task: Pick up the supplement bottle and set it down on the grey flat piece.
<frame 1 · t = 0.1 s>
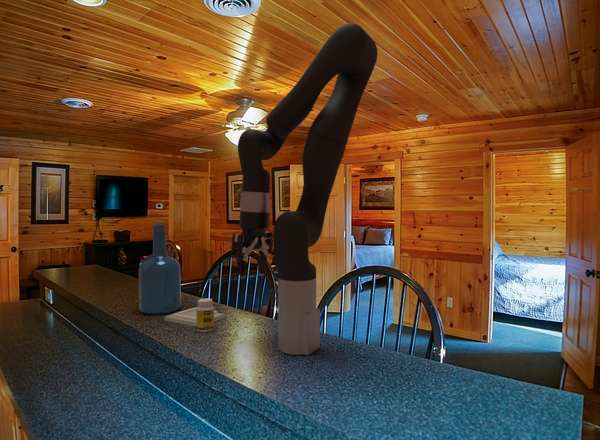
hand: (251, 272, 100), 17 cm above the counter, tool pointing down, fingers open, 8 cm apart
supplement bottle: (205, 330, 109), on the counter
wine bottle: (160, 310, 129), on the counter
grey flat piece: (195, 319, 119), on the counter
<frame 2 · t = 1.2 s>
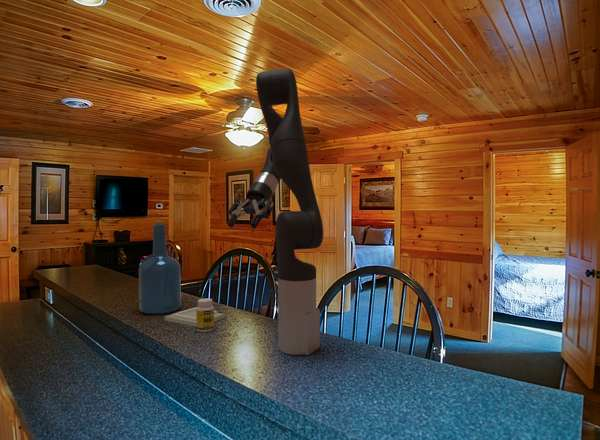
hand: (240, 226, 116), 29 cm above the counter, tool tilted 45°, fingers open, 8 cm apart
nothing on the counter moved.
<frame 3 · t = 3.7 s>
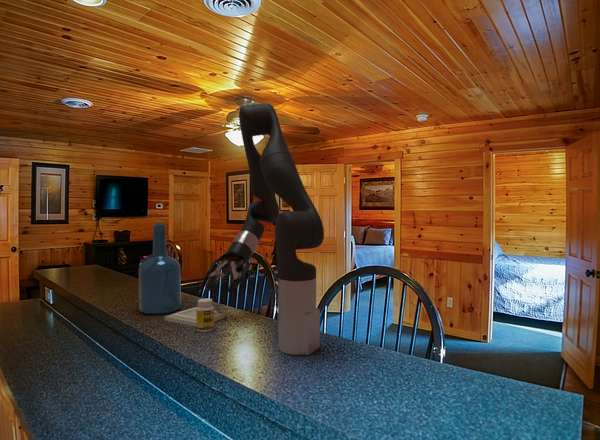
hand: (218, 290, 113), 10 cm above the counter, tool tilted 45°, fingers open, 8 cm apart
nothing on the counter moved.
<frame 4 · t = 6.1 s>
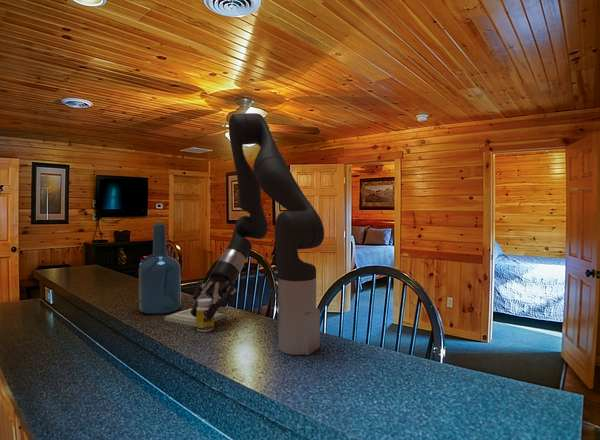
hand: (200, 316, 107), 4 cm above the counter, tool tilted 45°, fingers closed on supplement bottle, 4 cm apart
supplement bottle: (205, 330, 109), on the counter, touching gripper
everything else where it was.
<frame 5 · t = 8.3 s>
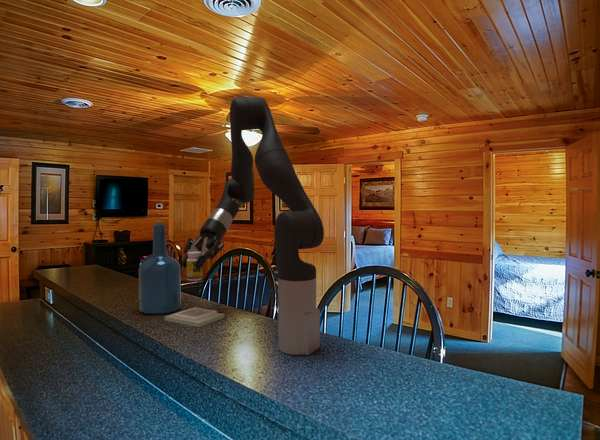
hand: (190, 267, 117), 16 cm above the counter, tool tilted 45°, fingers closed on supplement bottle, 4 cm apart
supplement bottle: (194, 280, 118), point 12 cm above the counter, touching gripper
everything else where it was.
when the fingers open (7 cm above the counter, at t = 10.5 s): supplement bottle drops 2 cm, resting on grey flat piece.
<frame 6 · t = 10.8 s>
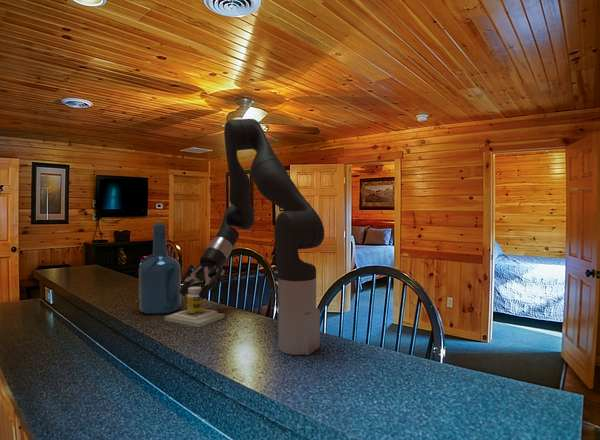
hand: (191, 295, 117), 8 cm above the counter, tool tilted 45°, fingers open, 7 cm apart
supplement bottle: (195, 315, 119), point 1 cm above the counter, touching grey flat piece
everything else where it was.
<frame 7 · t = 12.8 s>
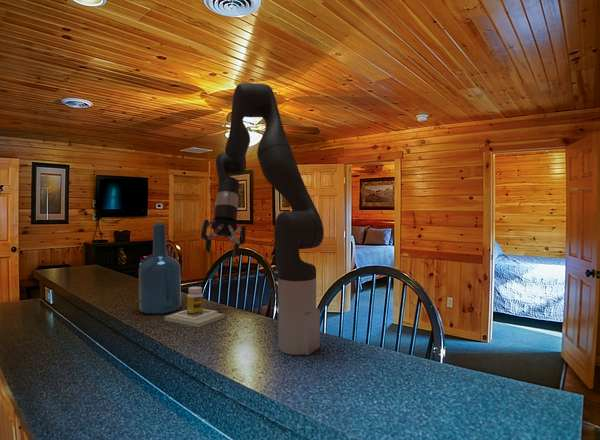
hand: (221, 254, 124), 19 cm above the counter, tool tilted 20°, fingers open, 8 cm apart
nothing on the counter moved.
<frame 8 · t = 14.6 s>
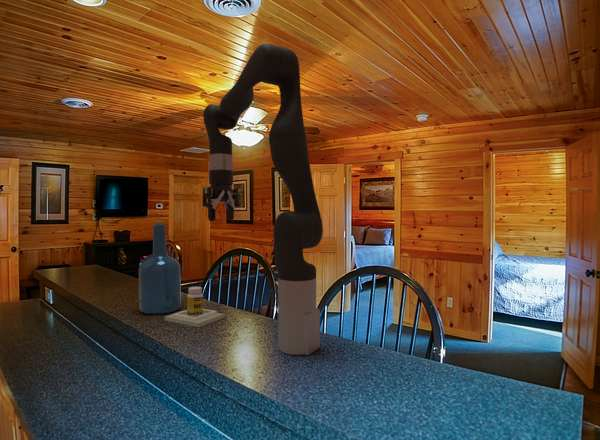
hand: (221, 220, 123), 30 cm above the counter, tool pointing down, fingers open, 8 cm apart
nothing on the counter moved.
at the end: supplement bottle 0.3 cm off-centre on the grey flat piece, point 1.0 cm above the grey flat piece's base; supplement bottle tilted 0°; the gripper is holding nothing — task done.
